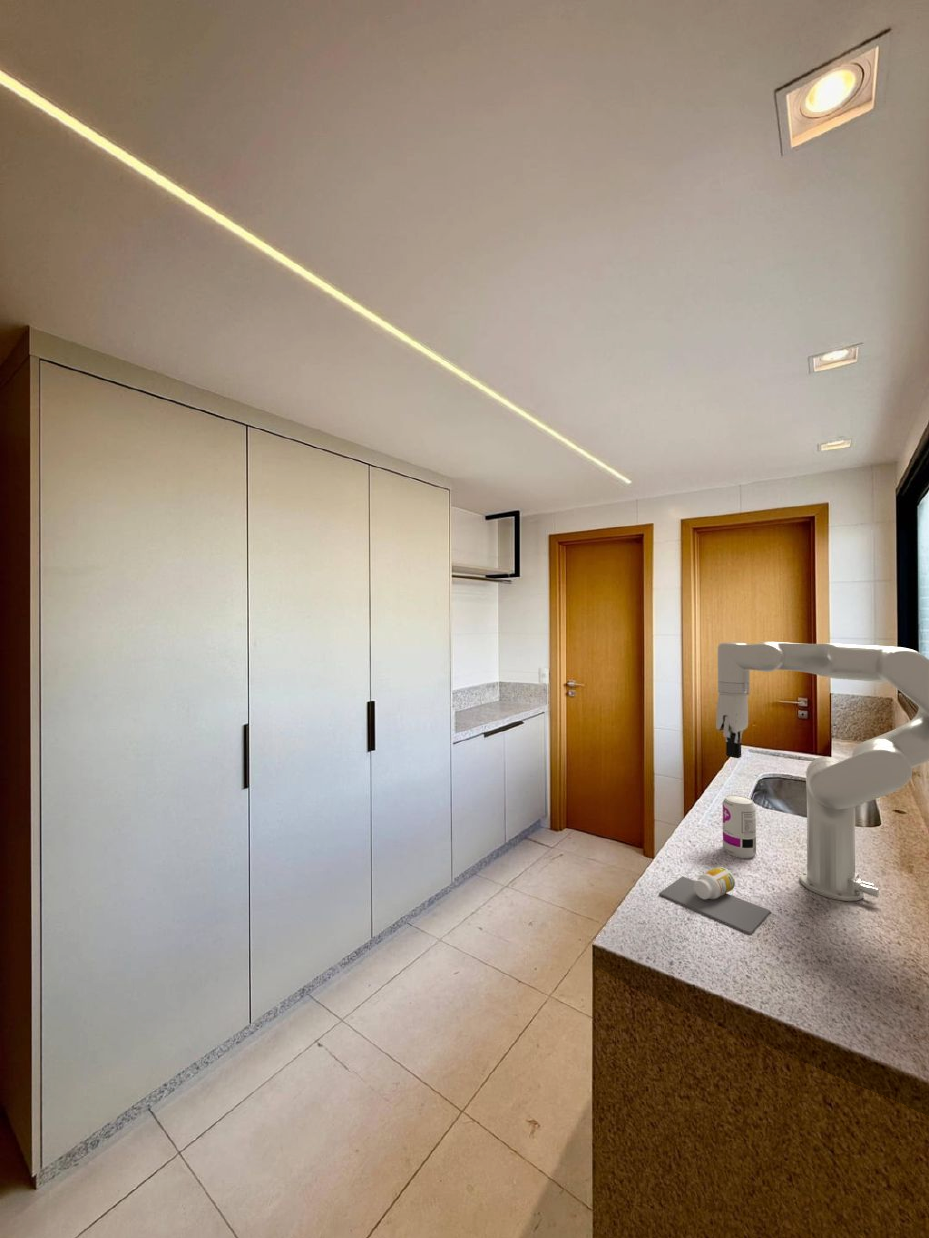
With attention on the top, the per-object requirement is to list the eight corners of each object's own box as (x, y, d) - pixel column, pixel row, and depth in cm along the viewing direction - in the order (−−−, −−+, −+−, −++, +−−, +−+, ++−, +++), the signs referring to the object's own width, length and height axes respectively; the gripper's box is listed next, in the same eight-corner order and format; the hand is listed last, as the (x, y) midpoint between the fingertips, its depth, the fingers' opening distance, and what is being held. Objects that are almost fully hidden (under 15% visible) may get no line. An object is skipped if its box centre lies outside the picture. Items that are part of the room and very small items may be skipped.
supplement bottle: (710, 876, 123) (686, 887, 117) (719, 861, 121) (696, 872, 115) (729, 895, 119) (706, 908, 113) (739, 880, 117) (716, 892, 111)
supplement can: (724, 856, 138) (724, 802, 138) (721, 844, 145) (721, 792, 145) (758, 861, 135) (757, 806, 135) (753, 848, 142) (752, 796, 142)
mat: (770, 912, 111) (770, 910, 111) (750, 935, 103) (750, 932, 103) (682, 878, 126) (682, 876, 126) (659, 895, 118) (659, 892, 118)
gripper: (729, 684, 141) (730, 749, 141) (707, 689, 131) (707, 758, 131) (759, 687, 135) (759, 754, 135) (737, 692, 125) (737, 765, 125)
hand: (733, 756), depth 133 cm, fingers closed
